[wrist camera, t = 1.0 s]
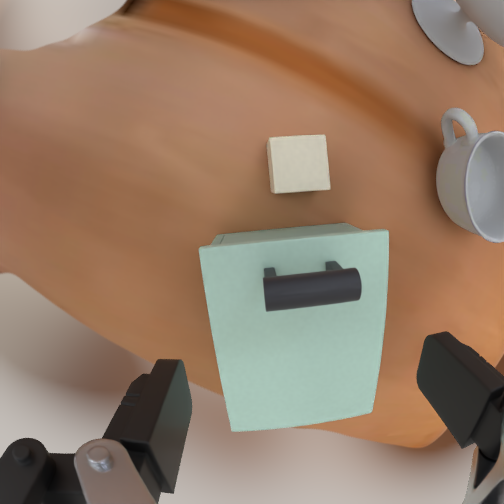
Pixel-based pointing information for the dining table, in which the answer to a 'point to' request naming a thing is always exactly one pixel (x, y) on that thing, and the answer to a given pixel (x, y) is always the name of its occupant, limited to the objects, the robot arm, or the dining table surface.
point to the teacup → (472, 177)
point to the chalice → (461, 25)
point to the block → (298, 163)
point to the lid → (297, 326)
